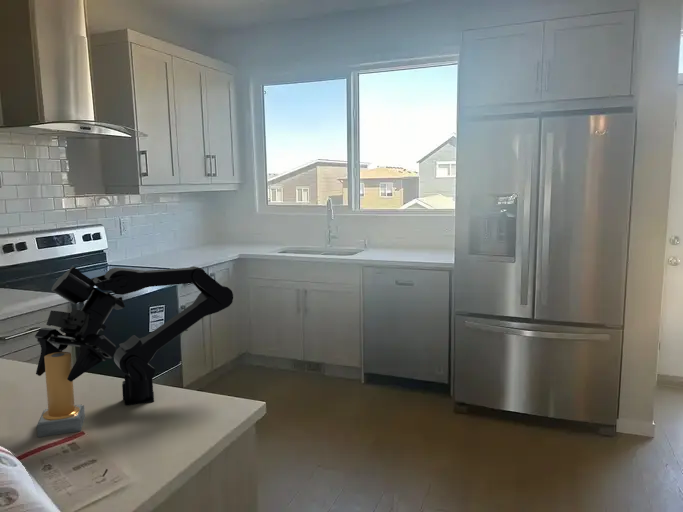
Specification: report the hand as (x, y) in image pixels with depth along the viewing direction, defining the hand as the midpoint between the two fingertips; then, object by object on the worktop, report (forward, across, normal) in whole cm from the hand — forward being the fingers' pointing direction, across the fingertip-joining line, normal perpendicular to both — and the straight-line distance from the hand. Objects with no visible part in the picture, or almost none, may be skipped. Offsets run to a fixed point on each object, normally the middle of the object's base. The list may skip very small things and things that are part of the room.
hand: (53, 377), depth 109 cm
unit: (+7, 0, +9) cm, 11 cm away
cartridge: (+5, 0, +7) cm, 8 cm away
